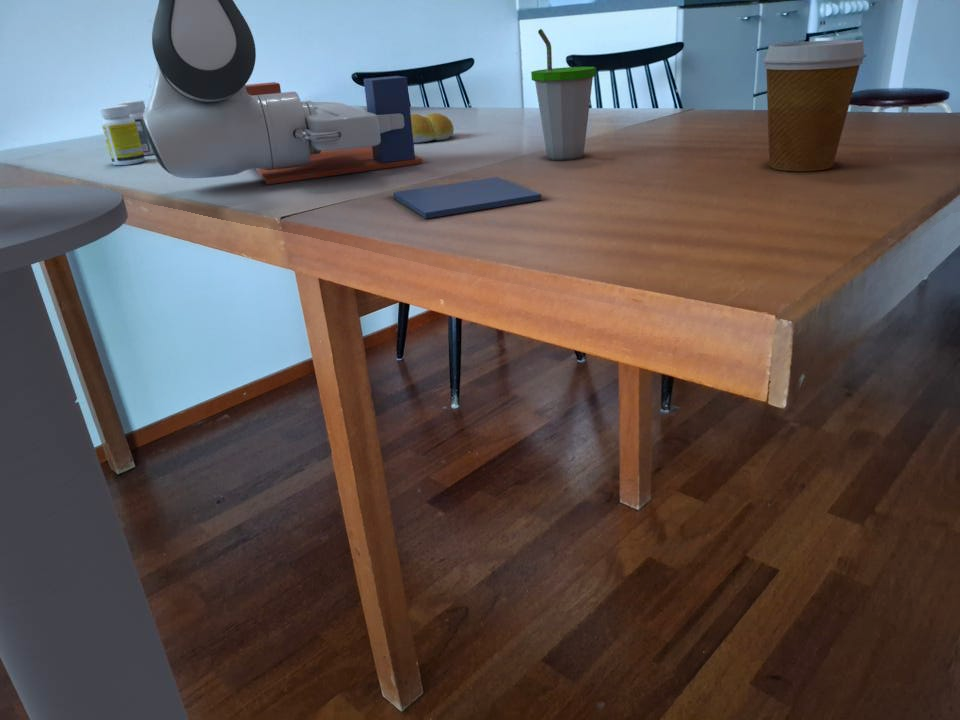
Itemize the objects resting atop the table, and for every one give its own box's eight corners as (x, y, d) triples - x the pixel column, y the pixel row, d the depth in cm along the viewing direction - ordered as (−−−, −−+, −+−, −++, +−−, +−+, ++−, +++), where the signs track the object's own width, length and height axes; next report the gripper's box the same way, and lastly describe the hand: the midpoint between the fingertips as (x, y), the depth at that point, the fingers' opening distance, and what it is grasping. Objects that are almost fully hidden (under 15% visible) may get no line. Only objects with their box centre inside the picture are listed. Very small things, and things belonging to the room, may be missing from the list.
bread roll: (461, 138, 113) (460, 111, 111) (407, 145, 109) (404, 118, 108) (442, 133, 120) (440, 107, 118) (390, 139, 116) (387, 113, 115)
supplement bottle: (152, 160, 114) (137, 104, 111) (128, 165, 110) (112, 108, 107) (130, 159, 116) (115, 104, 113) (106, 165, 112) (90, 108, 109)
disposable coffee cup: (734, 167, 79) (743, 47, 74) (792, 154, 83) (805, 40, 78) (810, 178, 71) (826, 46, 66) (870, 164, 75) (890, 38, 70)
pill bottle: (147, 151, 125) (134, 99, 121) (165, 151, 122) (152, 99, 119) (123, 156, 121) (108, 103, 117) (140, 156, 119) (126, 103, 115)
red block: (260, 163, 100) (245, 86, 95) (256, 159, 103) (242, 85, 99) (292, 159, 101) (279, 83, 97) (288, 155, 105) (275, 82, 101)
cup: (581, 149, 96) (580, 25, 89) (606, 157, 89) (607, 23, 83) (526, 156, 94) (520, 29, 88) (546, 165, 87) (542, 29, 81)
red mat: (267, 184, 88) (266, 179, 88) (251, 163, 105) (250, 159, 104) (422, 163, 95) (421, 158, 94) (384, 146, 111) (384, 142, 111)
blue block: (381, 163, 93) (371, 80, 89) (373, 158, 97) (363, 78, 92) (415, 158, 94) (407, 77, 90) (405, 154, 98) (397, 75, 94)
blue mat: (425, 219, 67) (425, 212, 67) (393, 197, 76) (392, 192, 76) (541, 200, 71) (541, 193, 71) (497, 182, 80) (497, 176, 80)
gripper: (297, 110, 79) (417, 97, 83) (273, 98, 97) (373, 88, 101) (307, 168, 82) (423, 153, 86) (281, 147, 99) (379, 135, 104)
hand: (396, 118), depth 94 cm, fingers closed on blue block, 4 cm apart
